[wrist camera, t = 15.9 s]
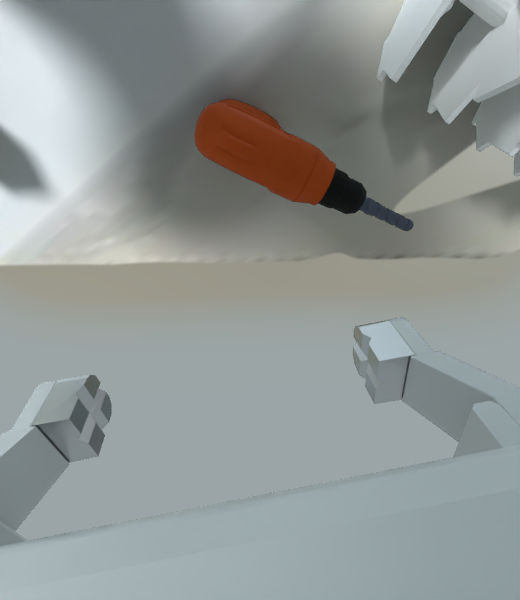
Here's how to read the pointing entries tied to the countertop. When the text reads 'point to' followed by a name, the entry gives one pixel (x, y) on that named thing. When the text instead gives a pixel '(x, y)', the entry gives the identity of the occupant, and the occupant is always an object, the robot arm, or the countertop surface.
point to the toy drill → (281, 161)
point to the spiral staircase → (467, 66)
